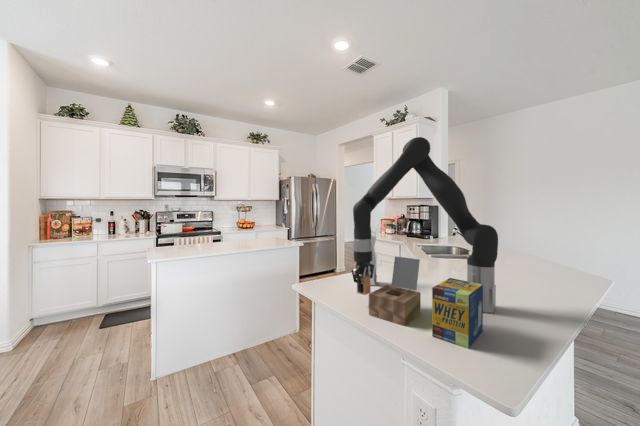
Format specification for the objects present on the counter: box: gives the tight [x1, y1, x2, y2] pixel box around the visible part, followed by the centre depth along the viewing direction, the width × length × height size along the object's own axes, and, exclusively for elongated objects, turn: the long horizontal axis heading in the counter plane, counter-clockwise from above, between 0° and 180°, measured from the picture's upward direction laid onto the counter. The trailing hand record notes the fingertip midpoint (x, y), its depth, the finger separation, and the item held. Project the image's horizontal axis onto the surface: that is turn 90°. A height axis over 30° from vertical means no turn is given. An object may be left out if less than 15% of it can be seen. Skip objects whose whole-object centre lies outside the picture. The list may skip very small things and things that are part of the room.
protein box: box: [431, 277, 484, 349], centre depth 82 cm, size 10×15×16 cm
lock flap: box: [390, 255, 420, 292], centre depth 105 cm, size 12×10×1 cm
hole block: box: [368, 285, 422, 327], centre depth 98 cm, size 14×14×8 cm
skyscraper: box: [370, 231, 380, 287], centre depth 136 cm, size 8×8×28 cm
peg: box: [356, 274, 372, 296], centre depth 107 cm, size 4×4×7 cm
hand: (363, 290), depth 107 cm, fingers closed on peg, 4 cm apart
